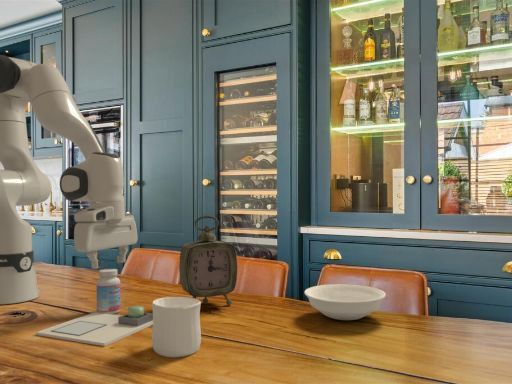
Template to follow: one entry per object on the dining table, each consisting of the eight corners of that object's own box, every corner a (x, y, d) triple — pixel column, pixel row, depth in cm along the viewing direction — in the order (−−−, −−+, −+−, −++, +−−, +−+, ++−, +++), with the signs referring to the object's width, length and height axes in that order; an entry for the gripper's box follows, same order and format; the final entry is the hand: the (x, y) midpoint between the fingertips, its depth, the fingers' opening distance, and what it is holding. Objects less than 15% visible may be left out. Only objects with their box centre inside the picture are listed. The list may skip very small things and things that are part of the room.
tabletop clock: (186, 312, 120) (185, 217, 120) (178, 304, 128) (176, 215, 128) (237, 306, 126) (236, 215, 126) (226, 299, 134) (225, 214, 134)
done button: (125, 318, 109) (125, 308, 109) (134, 315, 112) (134, 305, 112) (137, 320, 108) (137, 310, 108) (146, 316, 111) (146, 306, 111)
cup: (193, 359, 87) (192, 308, 87) (143, 357, 88) (142, 306, 88) (207, 343, 96) (206, 296, 96) (161, 340, 98) (161, 295, 98)
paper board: (35, 334, 103) (35, 331, 103) (94, 314, 119) (94, 311, 119) (104, 346, 95) (104, 342, 95) (157, 322, 111) (157, 319, 111)
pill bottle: (113, 315, 118) (113, 272, 118) (92, 314, 119) (91, 271, 119) (125, 309, 124) (124, 268, 124) (104, 308, 125) (103, 267, 125)
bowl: (391, 311, 118) (391, 287, 118) (378, 334, 100) (377, 305, 100) (318, 304, 127) (317, 281, 127) (293, 324, 109) (292, 297, 109)
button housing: (118, 323, 109) (118, 317, 109) (134, 317, 114) (134, 311, 114) (138, 326, 106) (138, 319, 106) (153, 319, 111) (153, 313, 111)
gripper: (124, 211, 132) (126, 259, 132) (68, 215, 113) (70, 271, 113) (142, 211, 129) (143, 259, 129) (88, 215, 111) (90, 272, 110)
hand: (109, 265), depth 121 cm, fingers open, 8 cm apart
